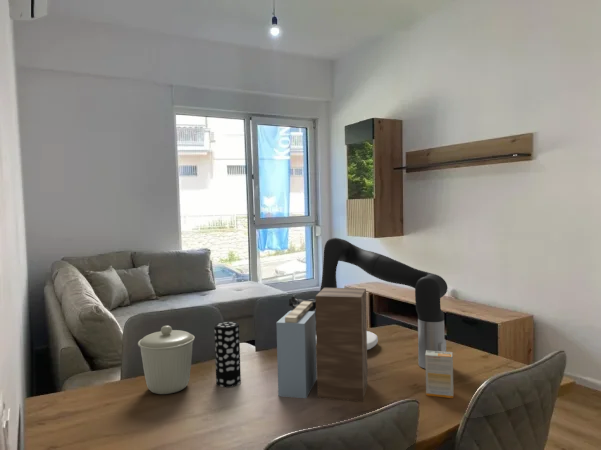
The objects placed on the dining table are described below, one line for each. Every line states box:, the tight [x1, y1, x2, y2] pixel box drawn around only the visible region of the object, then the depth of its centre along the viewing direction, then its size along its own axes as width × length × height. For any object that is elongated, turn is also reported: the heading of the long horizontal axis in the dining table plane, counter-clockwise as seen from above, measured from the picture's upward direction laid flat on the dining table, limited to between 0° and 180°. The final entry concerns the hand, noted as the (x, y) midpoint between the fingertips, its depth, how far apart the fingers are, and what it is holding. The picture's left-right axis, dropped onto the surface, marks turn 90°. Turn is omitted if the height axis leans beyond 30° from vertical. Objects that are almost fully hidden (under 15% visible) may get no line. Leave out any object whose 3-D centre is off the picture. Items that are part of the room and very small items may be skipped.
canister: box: [137, 325, 195, 395], centre depth 151 cm, size 18×18×21 cm
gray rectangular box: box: [275, 310, 317, 399], centre depth 149 cm, size 16×9×24 cm, turn 166°
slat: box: [285, 300, 313, 323], centre depth 153 cm, size 24×4×2 cm, turn 166°
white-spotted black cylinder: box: [213, 320, 242, 388], centre depth 155 cm, size 8×8×20 cm
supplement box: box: [424, 350, 454, 399], centre depth 141 cm, size 8×5×13 cm, turn 71°
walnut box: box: [315, 287, 368, 403], centre depth 145 cm, size 14×14×32 cm
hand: (305, 298), depth 160 cm, fingers open, 8 cm apart
